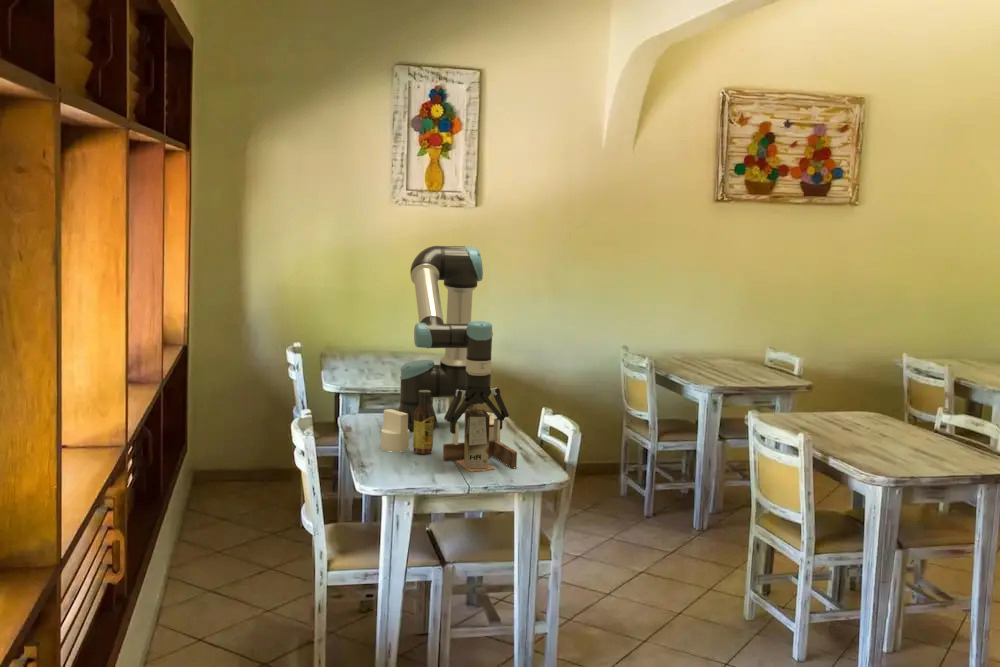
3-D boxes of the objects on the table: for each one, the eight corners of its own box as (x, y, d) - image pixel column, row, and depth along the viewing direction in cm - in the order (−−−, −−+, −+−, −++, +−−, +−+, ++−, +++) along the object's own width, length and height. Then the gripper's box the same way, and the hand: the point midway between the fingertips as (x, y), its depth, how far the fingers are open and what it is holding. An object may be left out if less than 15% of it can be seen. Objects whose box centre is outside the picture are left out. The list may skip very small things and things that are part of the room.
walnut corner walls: (443, 459, 275) (443, 444, 274) (495, 454, 282) (496, 439, 282) (461, 473, 261) (462, 457, 261) (516, 467, 269) (517, 452, 268)
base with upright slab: (414, 448, 286) (415, 412, 284) (393, 453, 279) (394, 416, 278) (396, 443, 292) (397, 407, 290) (375, 447, 285) (375, 411, 284)
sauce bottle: (427, 456, 278) (429, 394, 275) (409, 453, 280) (410, 391, 278) (436, 450, 284) (437, 390, 282) (418, 448, 286) (419, 388, 284)
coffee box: (488, 468, 266) (490, 416, 264) (467, 469, 264) (469, 416, 262) (483, 459, 275) (484, 409, 272) (462, 460, 273) (464, 409, 271)
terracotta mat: (456, 462, 273) (456, 460, 273) (480, 459, 276) (480, 458, 276) (470, 472, 263) (470, 470, 263) (494, 469, 266) (494, 468, 266)
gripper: (444, 377, 257) (442, 448, 260) (521, 373, 267) (518, 441, 271) (434, 372, 264) (433, 441, 267) (510, 368, 274) (507, 435, 277)
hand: (475, 441), depth 269 cm, fingers open, 13 cm apart
